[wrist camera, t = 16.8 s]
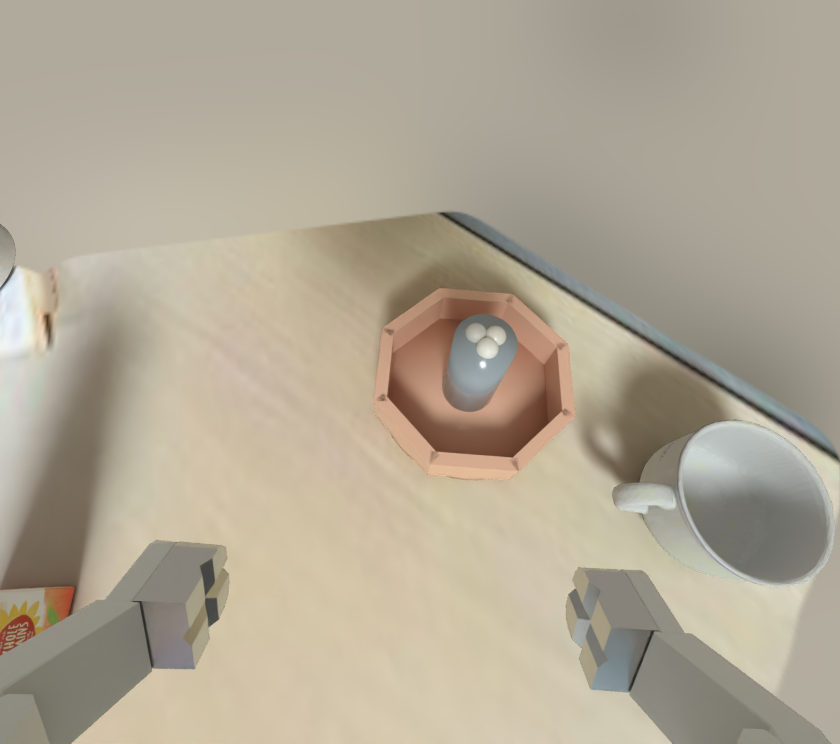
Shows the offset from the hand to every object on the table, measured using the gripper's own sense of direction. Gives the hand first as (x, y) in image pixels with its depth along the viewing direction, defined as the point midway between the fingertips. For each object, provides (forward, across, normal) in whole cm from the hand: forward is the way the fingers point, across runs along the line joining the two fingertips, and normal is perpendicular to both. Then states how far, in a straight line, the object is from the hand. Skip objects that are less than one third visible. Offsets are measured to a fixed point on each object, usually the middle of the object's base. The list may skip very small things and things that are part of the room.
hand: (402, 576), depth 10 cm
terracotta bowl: (+28, -6, +7) cm, 30 cm away
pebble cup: (+28, -6, +6) cm, 29 cm away
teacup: (+22, -23, +14) cm, 34 cm away
